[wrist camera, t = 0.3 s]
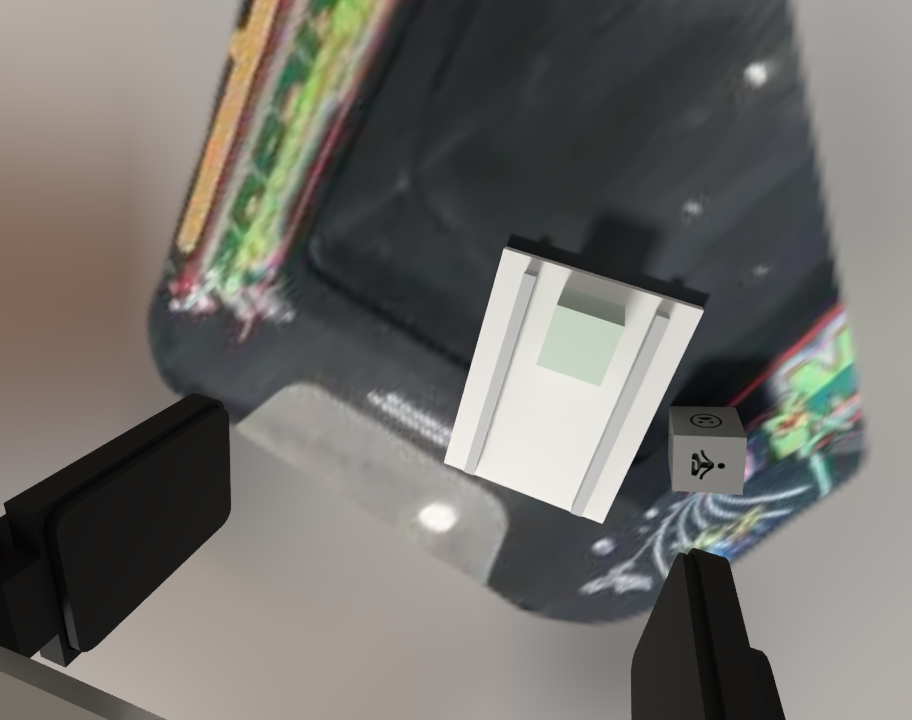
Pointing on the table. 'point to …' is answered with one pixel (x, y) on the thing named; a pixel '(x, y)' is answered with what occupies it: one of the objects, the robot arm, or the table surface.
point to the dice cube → (706, 449)
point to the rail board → (566, 381)
